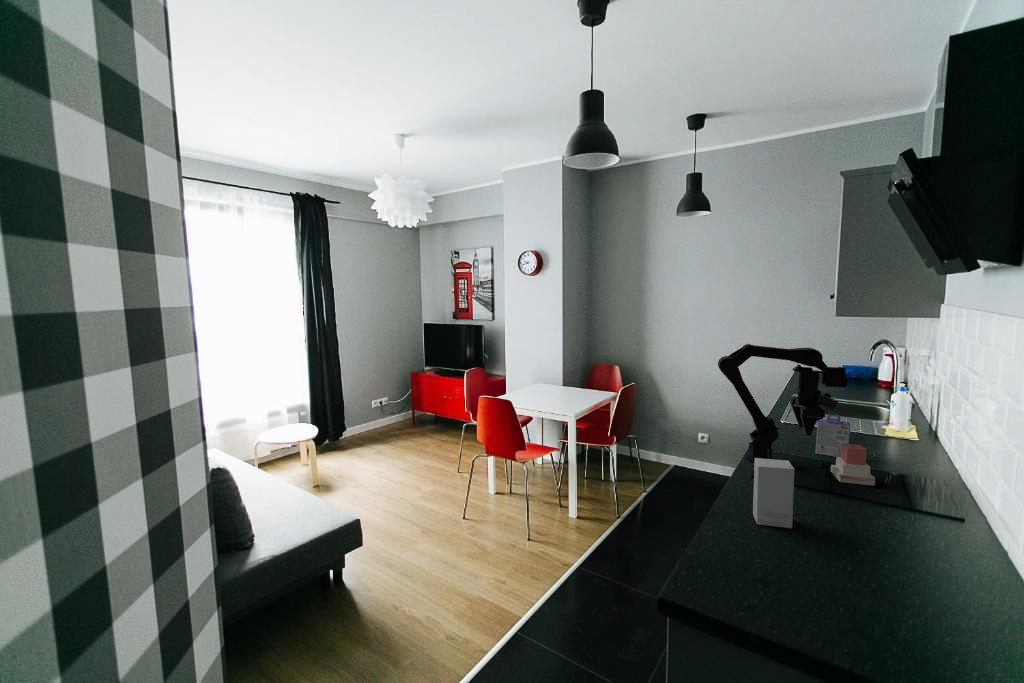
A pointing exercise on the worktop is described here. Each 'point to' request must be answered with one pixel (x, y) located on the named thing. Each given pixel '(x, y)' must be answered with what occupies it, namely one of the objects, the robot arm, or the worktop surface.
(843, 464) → the tower top
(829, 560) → the worktop surface
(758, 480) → the skincare box
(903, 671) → the worktop surface
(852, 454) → the red cube
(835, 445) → the ink cartridge box
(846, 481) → the tower base
